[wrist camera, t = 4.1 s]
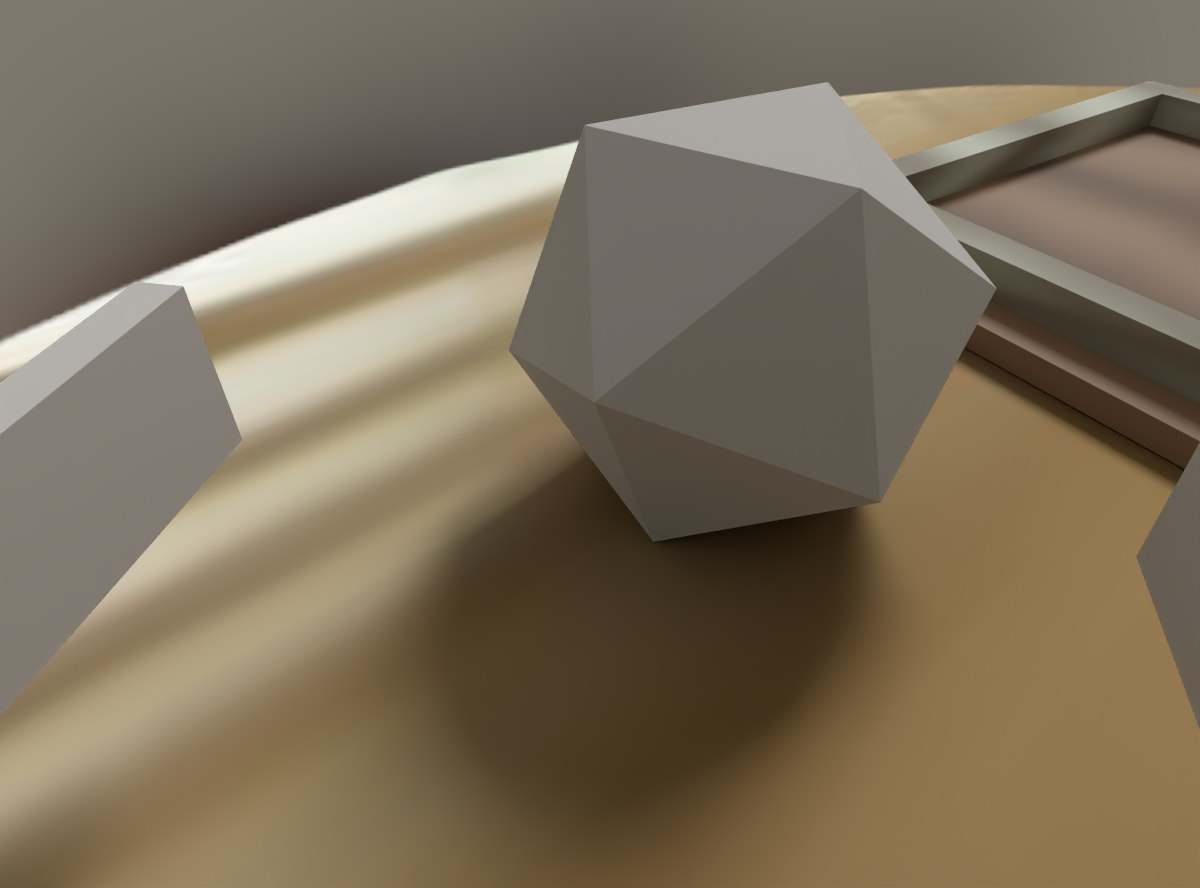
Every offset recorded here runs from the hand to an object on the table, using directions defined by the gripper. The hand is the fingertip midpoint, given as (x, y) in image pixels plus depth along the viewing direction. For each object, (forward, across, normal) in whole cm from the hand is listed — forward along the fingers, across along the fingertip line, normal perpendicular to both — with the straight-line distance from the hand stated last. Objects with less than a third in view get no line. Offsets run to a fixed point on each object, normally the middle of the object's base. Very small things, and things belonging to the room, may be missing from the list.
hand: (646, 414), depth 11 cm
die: (+6, +1, -6) cm, 8 cm away
